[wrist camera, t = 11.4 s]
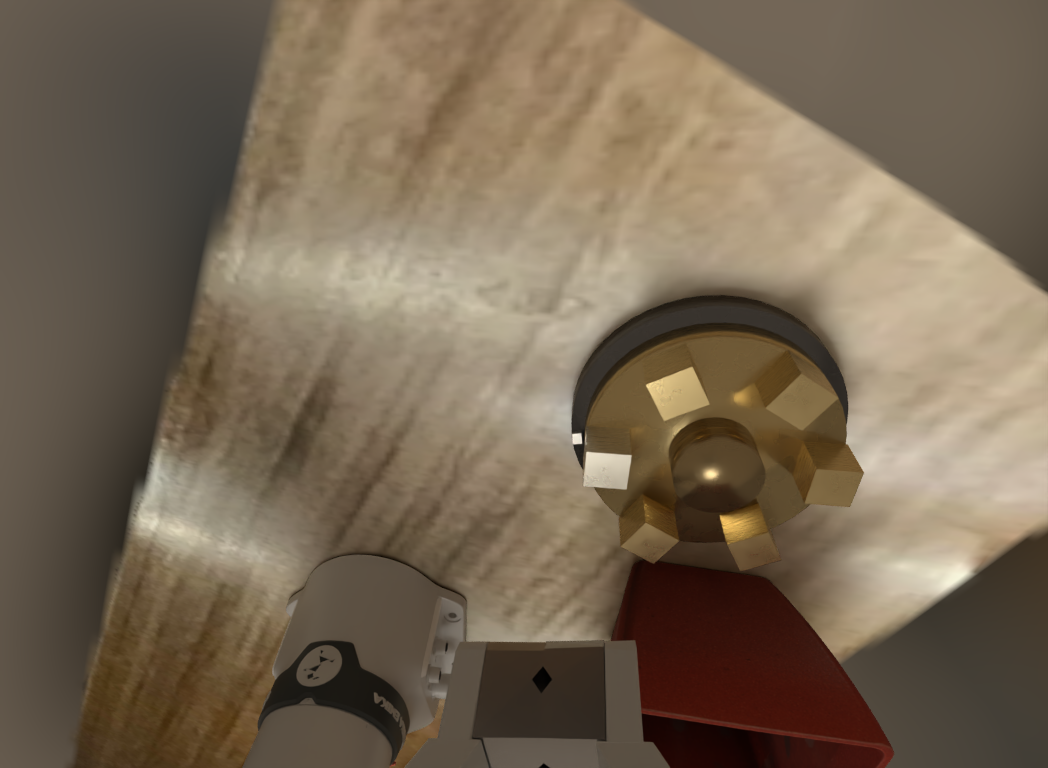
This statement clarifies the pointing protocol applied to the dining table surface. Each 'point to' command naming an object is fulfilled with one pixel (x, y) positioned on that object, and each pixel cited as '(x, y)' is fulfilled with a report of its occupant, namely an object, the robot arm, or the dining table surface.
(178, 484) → the dining table surface
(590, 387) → the nut base
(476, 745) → the robot arm
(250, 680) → the dining table surface
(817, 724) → the plant pot
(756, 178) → the dining table surface
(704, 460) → the ring nut
